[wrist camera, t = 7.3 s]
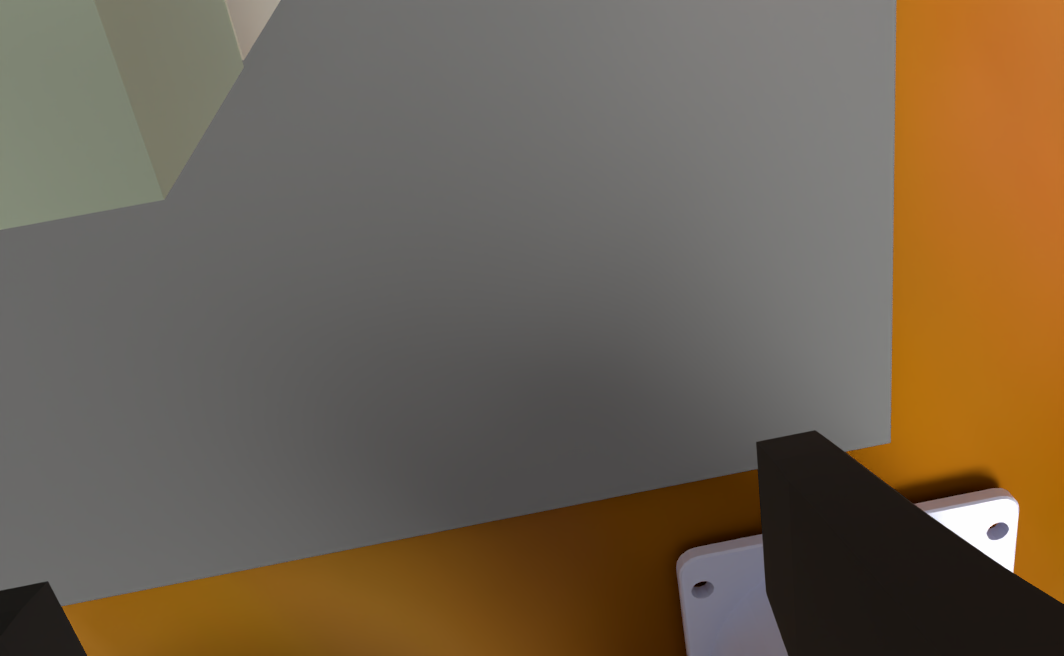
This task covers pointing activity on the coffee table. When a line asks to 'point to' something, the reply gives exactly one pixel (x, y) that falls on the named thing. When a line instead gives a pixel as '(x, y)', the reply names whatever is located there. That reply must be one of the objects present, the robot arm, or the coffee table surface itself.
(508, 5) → the mat
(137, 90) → the sage brick
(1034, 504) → the coffee table surface
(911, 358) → the coffee table surface
